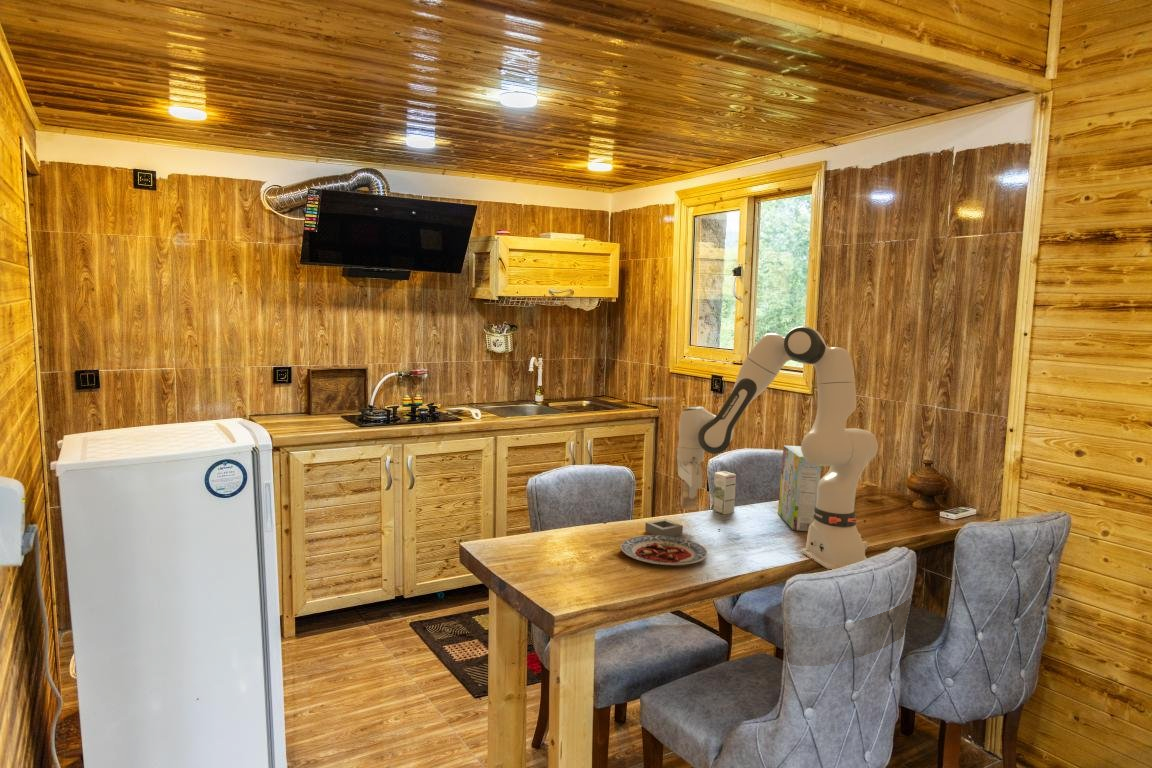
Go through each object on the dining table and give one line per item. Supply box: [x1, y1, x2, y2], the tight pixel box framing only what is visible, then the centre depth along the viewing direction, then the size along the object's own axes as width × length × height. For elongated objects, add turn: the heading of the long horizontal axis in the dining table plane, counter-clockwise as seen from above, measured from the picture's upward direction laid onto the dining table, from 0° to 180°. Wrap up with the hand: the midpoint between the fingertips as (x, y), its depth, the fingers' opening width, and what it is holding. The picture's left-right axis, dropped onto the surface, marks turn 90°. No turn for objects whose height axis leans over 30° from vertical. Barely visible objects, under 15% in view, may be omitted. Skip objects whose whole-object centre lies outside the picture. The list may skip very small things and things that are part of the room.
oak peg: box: [680, 479, 698, 511], centre depth 248 cm, size 4×4×9 cm
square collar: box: [644, 518, 683, 537], centre depth 243 cm, size 9×9×3 cm
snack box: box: [777, 444, 823, 532], centre depth 259 cm, size 22×9×26 cm, turn 179°
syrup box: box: [712, 470, 737, 515], centre depth 270 cm, size 6×6×14 cm
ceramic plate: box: [620, 534, 709, 566], centre depth 222 cm, size 26×26×3 cm
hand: (689, 495), depth 248 cm, fingers closed on oak peg, 4 cm apart
